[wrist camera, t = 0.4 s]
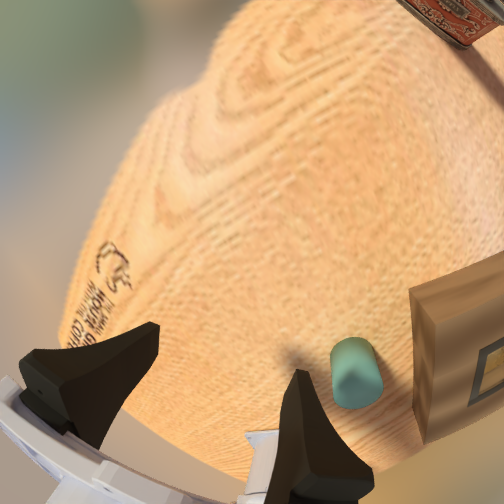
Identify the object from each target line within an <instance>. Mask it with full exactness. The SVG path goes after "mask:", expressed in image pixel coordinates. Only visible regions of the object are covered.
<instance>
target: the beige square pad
mask: <svg viewBox="0 0 504 504" xmlns="http://www.w3.org/2000/svg"><path fill="white" fill-rule="evenodd" d="M503 363H504V346H503V347H501V348H499V349H498V350H496V351H494V352H492V353H491V354H489V355H488V356H487V361H486V366H485V371H484V374H485V373H487V372H489V371H490V370H492V369H494V368H496V367H497V366H499V365H501V364H503Z"/></svg>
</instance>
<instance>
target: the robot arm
mask: <svg viewBox="0 0 504 504" xmlns="http://www.w3.org/2000/svg"><path fill="white" fill-rule="evenodd" d="M159 332H160V325H158V324H155V323H153V322H150V321H149V322H147V323H145V324H143V325H141V326H139V327H136V328H134V329H132V330H130V331H128V332H125V333H123V334H121V335H118V336H116V337H113V338H110V339H108V340H105V341H102V342H99V343H95V344H91V345H87V346H82V347H76V348H69V349H56V350H55V349H54V350H53V349H34V350H32V351H31V352H30V353H29V354H27V355H26V356H25V357H24V358H23V359H21V360H20V361H19V368H20V372H21V374H22V376H23V379H24V381H25V384H26V386H27V388H26V389H25V390H23V389H22V388H21V386H20V385H19V384H18V383H17V382H16V381H14V379H12V378H11V377H10V376H9V375H6V376H5V377H4V378H3V379H2V380H1V381H0V428H1V429H2V430H3V432H4V433H5V434H6V435H7V436H8V437H9V438H10V439H11V440H12V441H13V442H14V443H15V444H16V445H17V446H18V447H19V448H21V450H22V451H23V452H24V453H25V454H26V455H27V456H29V457H30V458H31V459H32V460H33V461H34V462H35V463H36V464H38V466H40V467H41V468H42V469H43V470H44V471H45V472H47V473H48V474H49V475H50V476H51V477H53V478H54V479H55V480H57V481H58V482H59V483H60V484H59V485H58V487H57V488H56V489H55V491H54V492H53V494H52V495H51V496H50V498H49V499H48V501H47V502H46V503H45V504H227V503H223V502H219V501H216V500H212V499H209V498H205V497H202V496H199V495H196V494H192V493H190V492H186V491H183V490H181V489H178V488H176V487H172V486H170V485H168V484H165V483H163V482H160V481H158V480H155V479H153V478H151V477H148V476H146V475H144V474H142V473H140V472H138V471H136V470H134V469H132V468H129V467H128V466H126V465H124V464H122V463H120V462H118V461H116V460H114V459H112V458H111V457H108V456H107V455H105V454H103V453H102V452H100V451H99V449H100V446H101V444H102V442H103V440H104V437H105V436H106V434H107V431H108V430H109V428H110V426H111V424H112V422H113V420H114V418H115V416H116V415H117V413H118V411H119V410H120V408H121V406H122V405H123V403H124V401H125V400H126V398H127V397H128V396H129V394H130V393H131V392H132V390H133V389H134V388H135V387H136V385H137V384H138V383H139V382H140V380H141V379H142V378H143V377H144V375H145V374H146V373H147V372H148V370H149V369H150V367H151V366H152V364H153V362H154V361H155V359H156V357H157V355H158V349H159ZM245 437H246V439H247V440H248V442H249V443H250V444H251V446H252V447H253V449H254V454H253V459H252V463H251V467H250V471H249V476H248V480H247V484H246V488H245V492H244V495H239V496H238V499H237V502H235V501H234V502H231V503H229V504H358V500H359V499H360V498H362V497H364V496H365V495H367V494H368V493H369V492H370V491H372V490H373V488H374V475H373V471H372V468H371V467H370V466H368V465H367V464H366V463H365V462H363V461H362V460H361V459H360V458H359V457H358V456H357V455H356V454H355V453H354V452H353V451H352V450H351V449H350V448H349V447H348V446H347V445H346V443H345V442H344V441H343V440H342V439H341V437H340V436H339V435H338V433H337V432H336V431H335V429H334V427H333V426H332V424H331V423H330V421H329V419H328V417H327V416H326V414H325V412H324V410H323V408H322V406H321V403H320V401H319V399H318V396H317V394H316V391H315V389H314V386H313V383H312V381H311V378H310V375H309V372H308V371H303V370H299V369H296V371H295V373H294V375H293V377H292V379H291V381H290V384H289V386H288V388H287V390H286V392H285V394H284V397H283V402H282V406H281V411H280V423H279V429H276V430H265V431H251V432H245Z"/></svg>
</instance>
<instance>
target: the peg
mask: <svg viewBox="0 0 504 504" xmlns="http://www.w3.org/2000/svg"><path fill="white" fill-rule="evenodd" d="M330 363H331V374H332V386H333V398H334V401H335V403H336V404H337V405H339V406H340V407H342V408H346V409H359V408H363V407H366V406H368V405H370V404H372V403H373V402H375V401H376V400H377V399H378V398H379V397H380V396H381V394H382V392H383V389H384V386H383V382H382V378H381V375H380V371H379V368H378V365H377V361H376V358H375V355H374V352H373V349H372V346H371V344H370V343H369V342H368V341H367V340H365V339H363V338H360V337H351V338H347V339H344V340H342V341H340V342H339V343H337V344H336V345H335V346H334V348H333V349H332V351H331V354H330Z"/></svg>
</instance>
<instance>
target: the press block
mask: <svg viewBox="0 0 504 504" xmlns="http://www.w3.org/2000/svg"><path fill="white" fill-rule="evenodd" d="M409 297H410V307H411V318H412V333H413V362H414V379H413V407H412V408H413V411H414V414H415V417H416V420H417V423H418V427H419V430H420V433H421V437H422V440H423V444H424V445H425V444H428V443H430V442H433V441H435V440H438V439H440V438H443V437H445V436H447V435H450V434H452V433H454V432H456V431H459V430H461V429H463V428H465V427H467V426H469V425H471V424H473V423H475V422H477V421H479V420H480V419H482V418H484V417H486V416H488V415H489V414H491V413H493V412H495V411H496V410H498V409H500V408H501V407H503V406H504V363H503V364H501V365H499V366H497V367H496V368H494V369H492V370H490V371H489V372H487V373H485V374H484V371H485V366H486V361H487V356H488V355H489V354H491V353H492V352H494V351H496V350H498V349H499V348H501V347H503V346H504V251H502V252H500V253H497V254H495V255H493V256H491V257H489V258H486V259H484V260H482V261H479V262H477V263H475V264H472V265H470V266H468V267H465V268H463V269H460V270H458V271H455V272H453V273H450V274H448V275H445V276H443V277H440V278H437V279H435V280H432V281H429V282H427V283H424V284H421V285H418V286H416V287H413V288H410V289H409Z"/></svg>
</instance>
